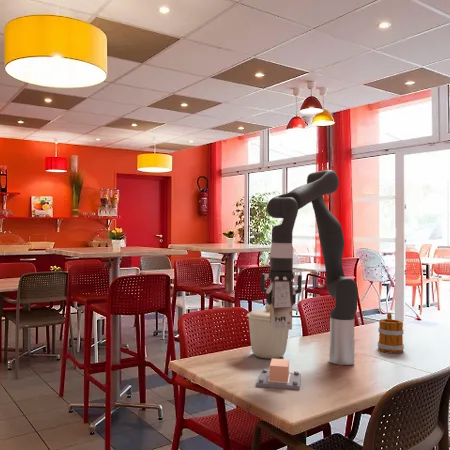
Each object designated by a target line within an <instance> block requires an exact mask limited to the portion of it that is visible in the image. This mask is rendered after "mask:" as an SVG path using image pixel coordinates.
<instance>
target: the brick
mask: <svg viewBox="0 0 450 450" xmlns="http://www.w3.org/2000/svg"><path fill="white" fill-rule="evenodd" d="M269 371H270V376H269V381H280V382H288V377H289V373H290V359H285V358H275V359H273V358H272V359H270V364H269Z"/></svg>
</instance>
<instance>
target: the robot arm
mask: <svg viewBox="0 0 450 450" xmlns="http://www.w3.org/2000/svg"><path fill="white" fill-rule="evenodd" d="M339 182H340V180H339V177H338V174H337V173H336V172H335V171H334V170H332V169H324V170H320V171H316V172H311V173H309V174H308V175H307V178H306V184H303V185H300V186H298V187H295V188H294V189H292V190H291V191H288V192H287V193H283V194H280V195H276V196H274V197H272V198H271V199H270V200H269V201H268V202H267V205H266V212H267V214H268V215H269V216H270V217H271V218H272V219H273V218H274V219H283V220H282V222H281V223H280V224H278V225H274V226H273V227H272V228H271V245H270V253H269V255H270V263H269V264H270V267H269V270H270V271H269V273H261V275H260V291H261V292H262V293H265V295H266V297H265V299H266V300H265V302H266V304H268V305H270V304H271V293H270V291H271V290H272V283H273V282H272V283H271V285H270V284H269V286H268V287H267V288H266V281H267V280H268V278H269V279H271V281H272V280H286V281H288V280H290V281H293V279H295V281H296V282H297V289H295V287H293V302H292V307H294V305H296V301H297V294H301V292H302V283H303V281H302V280H303V276H302V274H294V272H293V270H294V269H293V267H294V263H293V262H294V259H293V258H294V247H293V231H294V229H295V228H294V227H295V223H296V219H297V217H298V213H299V210H301V209H302V208H303V207H305V206H307V205H308V204H309V203H311V204H312V205H311V206H312V208H313V212H314V216H315V220H316V221H315V222H316V225H317V232H318V233H317V234H318V238H319V244H320V247H321V252H322V253H321V254H322V258H323V262H324V268H325V277H326V278H325V280H326V288H327V292H328V294H329V295H330V297H331V298H333V299H335V303H334V304H335V305H334V308H333V309H331V310H330V312H329V313H330V314H329V317H330V318H329V319H330V321H329V355H328V356H329V362H330V363H331V364H335V365H339V366H349V365H350V366H351V365H352V366H353V365H355V345H356V343H355V317H356V313H357V310H358V298H359V297H358V294H359V292H358V291H359V289H358V288H359V287H358V284H357V283H356V281H355V280H354V279H353V278H351V277H347V276H345V273H344V268H343V254H344V249H345V236H344V233H343V227H342V225H341V223H340V222H339V220H338V219H337V217H336V216H334V214H333V213H332V212H331V211H330V210H329V208H328V207H327V205H326V202H325V199H324V196H326V195H329V194H333V193H334V192H335V193H336V191H337V190H338V188H339Z"/></svg>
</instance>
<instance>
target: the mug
mask: <svg viewBox="0 0 450 450" xmlns="http://www.w3.org/2000/svg"><path fill="white" fill-rule="evenodd" d="M378 323H379V327H378V330H377V331H378V333H379V335H378V341H377V349H378V351H379V350H380V351H379V352H381V351H382V353H386V352H387V353H388V354H402V353H403V352H404V349H405V344H404V343H403V342H404V340H403V338H404V337H403V335H404V329H403V327H404V322H403V321H401V320H399V319H393V316H392V313H391V312H387V315H386V318H383V319H380V320H379V322H378Z"/></svg>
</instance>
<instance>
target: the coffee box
mask: <svg viewBox="0 0 450 450" xmlns="http://www.w3.org/2000/svg"><path fill="white" fill-rule="evenodd" d="M269 279H270V278H269ZM272 282H273V283H272ZM271 283H272V290H271V291H270V293H271V304H270V325H271V326H272V328H273V329H275V330H277V329H278V330H292V329H293V306H292V302H293V288H294V282H293V280H292V281H290V280H288V281H286V280H272V281H271V279H270V283H269V286H270V285H271Z"/></svg>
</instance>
